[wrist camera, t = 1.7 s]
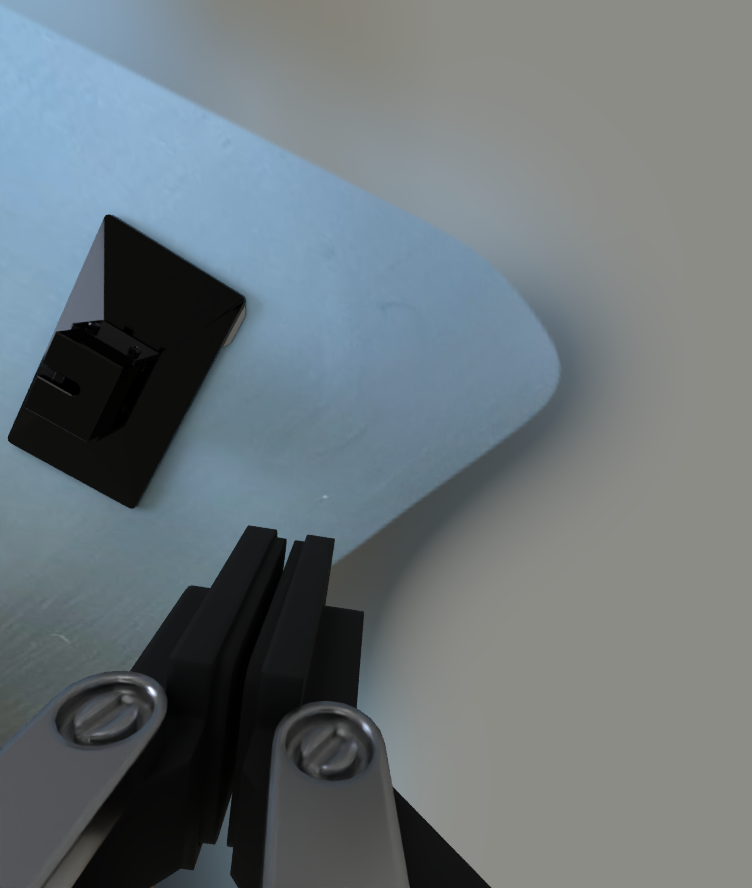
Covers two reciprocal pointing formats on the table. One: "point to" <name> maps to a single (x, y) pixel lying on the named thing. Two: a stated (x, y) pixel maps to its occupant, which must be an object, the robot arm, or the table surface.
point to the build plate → (125, 362)
